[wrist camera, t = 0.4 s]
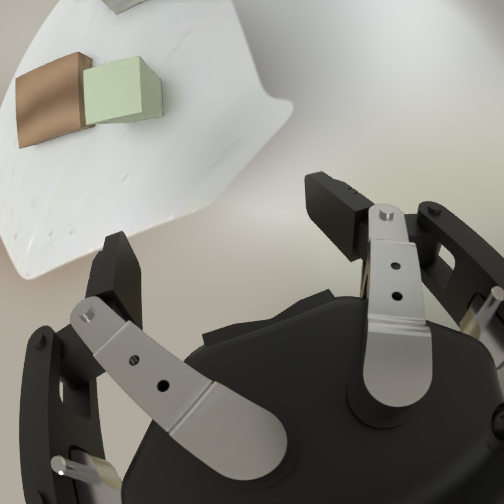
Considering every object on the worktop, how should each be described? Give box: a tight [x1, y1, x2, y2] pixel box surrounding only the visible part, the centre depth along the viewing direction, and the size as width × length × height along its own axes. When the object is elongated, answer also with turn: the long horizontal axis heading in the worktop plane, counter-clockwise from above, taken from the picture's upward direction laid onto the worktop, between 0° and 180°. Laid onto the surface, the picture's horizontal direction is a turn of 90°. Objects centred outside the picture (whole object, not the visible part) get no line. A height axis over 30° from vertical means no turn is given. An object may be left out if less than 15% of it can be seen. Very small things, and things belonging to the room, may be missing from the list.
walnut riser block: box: [16, 52, 95, 149], centre depth 24 cm, size 10×10×5 cm
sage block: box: [83, 56, 163, 125], centre depth 23 cm, size 5×5×14 cm
